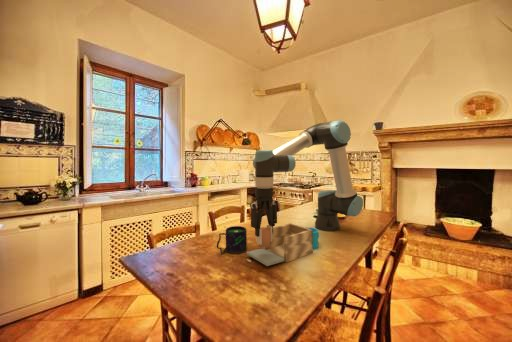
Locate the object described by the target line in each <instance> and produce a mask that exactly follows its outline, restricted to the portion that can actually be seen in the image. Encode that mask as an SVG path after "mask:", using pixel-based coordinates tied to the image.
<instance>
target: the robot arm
mask: <svg viewBox="0 0 512 342" xmlns="http://www.w3.org/2000/svg"><path fill="white" fill-rule="evenodd" d="M351 135H352V131H351V128H350V126H349V125H348V123H347V122H345V121H344V120H332V121H326V122H320V123H316V124H314V125H312V126H310V127H308V128H306V129H304V130H302V131H301V132H299V133H298V135H297V136H295V137H293V138H292V139H290V140H288V141H287V142H284V143H283V144H281V145H279V146H277V147H276V148H274V149H260V150H259V149H258V150H256V151H255V155H254V158H253V159H252V166H253V169H254V172H255V173H254V175H255V176H254V177H255V179H254V181H255V182H254V183H255V188H254V189H255V190H254V191H255V193H254V195H255V201H254V202H253V203H249V207H250V227H251V228H253V229H254V236H255V239H256V243H255V244H257V245H259V244H260V245H261V244H262V229H261V228H262V227H261V225H262V220H263V215H264V213H265V214H266V215H265V216H266V219H267V225H266V227H267V228H270V242H272V233H273V228H274V227H276V224H277V223H278V204H279V201H278V200H275V199H273V196H274V188H273V187H274V173H288V172H292V171H294V170H295V169H296V161H297V160H296V159H295V157H294V155H295V154H297V153H299V152H300V151H302V150H304V149H305V148H306V149H309V148H311V147H313V146H317V145H323V146H324V149H325V150H326V151H327V152H328V154H329V155H328V156H329V161H330V165H331V168H332V169H331V170H332V172H333V173H332V174H333V180H334V183H335V188H336V190H332V189H331V190H322V191H321V190H320V191H319V192H318V193H317V216H316V219H315V221H314V228H315V229H317V230H320V231H325V232H336V231H337V232H338V231H339V230H341V223H340V220H339V216H338V214H340V215H345V216H347V217H357V216H359V215H360V214H361V212H362V210H363V207H364V199H363V196H360V195H358V193H357V191H358V190H356V189H355V188H354V187H353V182H352V181H353V180H352V176H351V171H350V166H349V165H350V164H349V159H348V156H347V150H346V147H347V146H348V145H349V143H348V142H350V140H351Z"/></svg>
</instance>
